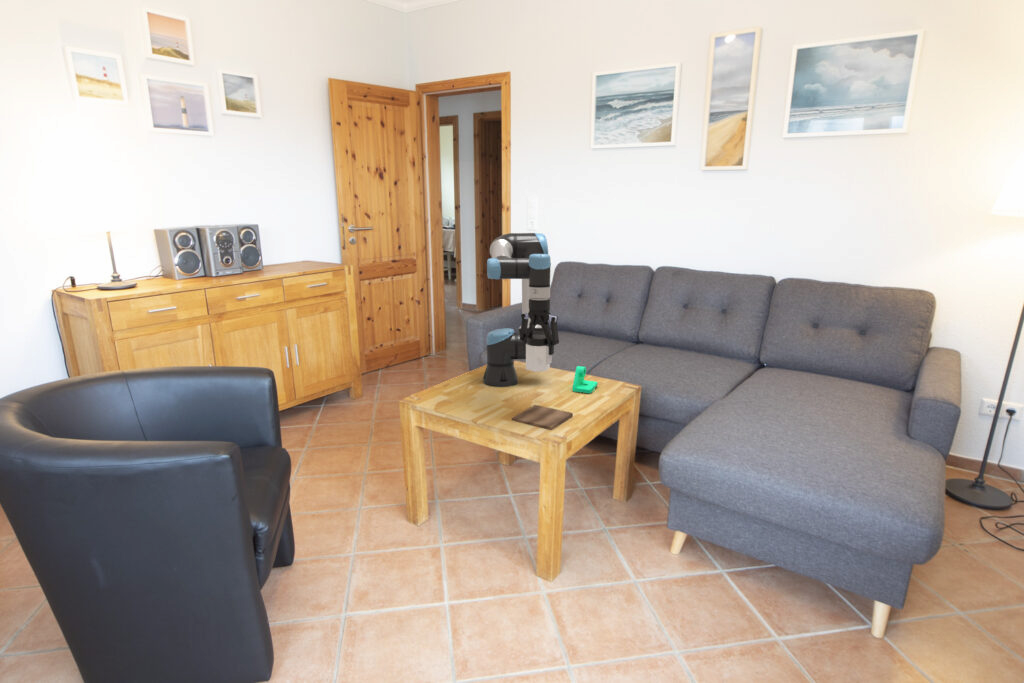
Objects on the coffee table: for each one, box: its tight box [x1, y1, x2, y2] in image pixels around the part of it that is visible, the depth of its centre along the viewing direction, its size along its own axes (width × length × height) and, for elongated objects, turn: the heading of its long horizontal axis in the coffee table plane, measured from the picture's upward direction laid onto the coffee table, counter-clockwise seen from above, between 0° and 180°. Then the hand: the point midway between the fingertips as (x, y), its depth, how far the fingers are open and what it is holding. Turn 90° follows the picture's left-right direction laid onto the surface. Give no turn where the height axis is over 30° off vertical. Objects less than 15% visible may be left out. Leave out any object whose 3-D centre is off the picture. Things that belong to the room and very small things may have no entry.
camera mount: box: [571, 365, 599, 394], centre depth 234 cm, size 12×8×10 cm, turn 156°
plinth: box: [511, 404, 574, 431], centre depth 200 cm, size 16×16×2 cm
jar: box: [525, 335, 551, 373], centre depth 200 cm, size 9×8×12 cm
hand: (538, 361), depth 200 cm, fingers closed on jar, 7 cm apart
